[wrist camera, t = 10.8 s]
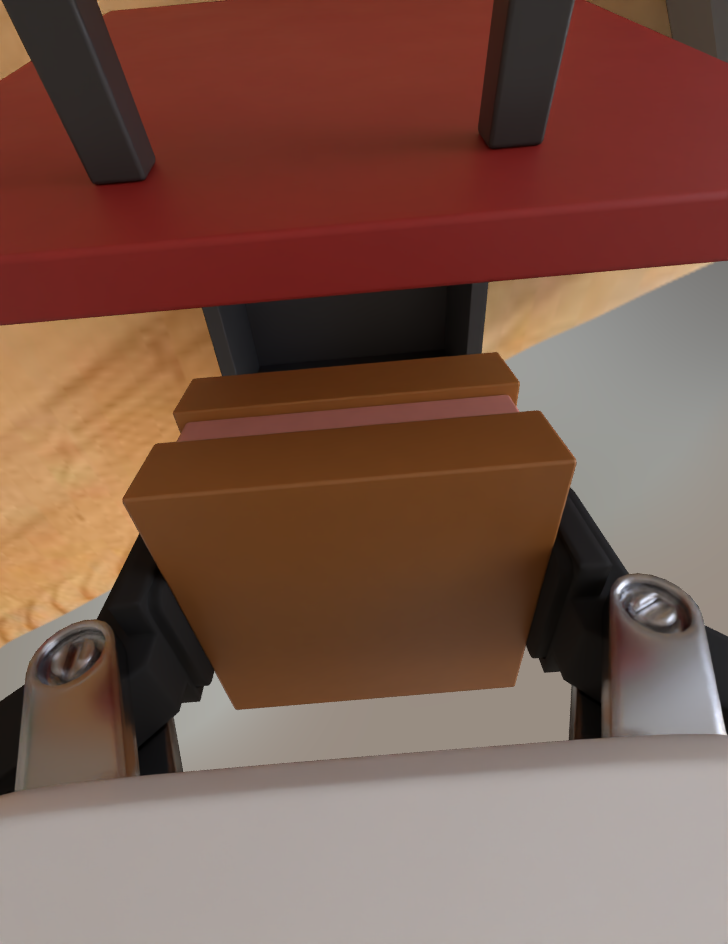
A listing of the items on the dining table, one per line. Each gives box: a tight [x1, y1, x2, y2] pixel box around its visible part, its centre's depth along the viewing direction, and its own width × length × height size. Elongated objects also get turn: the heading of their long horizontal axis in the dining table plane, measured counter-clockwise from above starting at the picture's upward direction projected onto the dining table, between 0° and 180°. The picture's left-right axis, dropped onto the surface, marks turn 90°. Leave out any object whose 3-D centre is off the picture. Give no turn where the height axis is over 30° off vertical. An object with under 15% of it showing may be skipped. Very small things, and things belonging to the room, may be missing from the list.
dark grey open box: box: [202, 282, 488, 376], centre depth 22 cm, size 16×14×6 cm
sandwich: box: [123, 352, 576, 710], centre depth 10 cm, size 7×7×4 cm
